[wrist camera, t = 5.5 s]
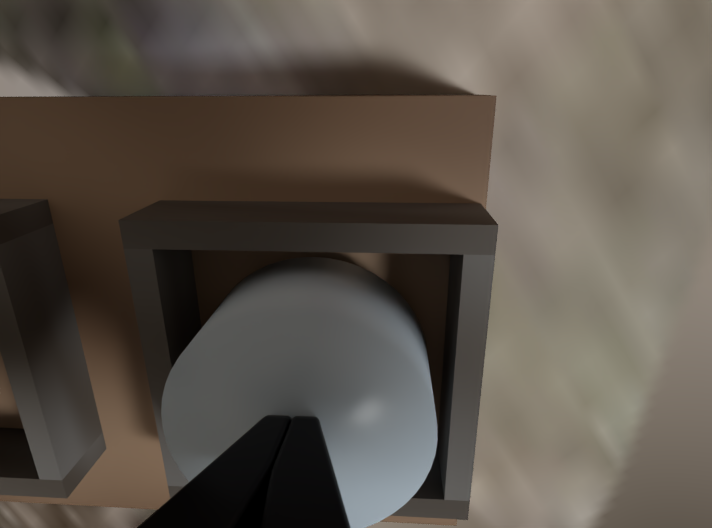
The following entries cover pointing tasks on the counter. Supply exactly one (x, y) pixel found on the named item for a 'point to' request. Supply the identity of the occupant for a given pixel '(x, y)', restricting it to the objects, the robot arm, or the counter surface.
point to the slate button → (312, 379)
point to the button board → (221, 263)
